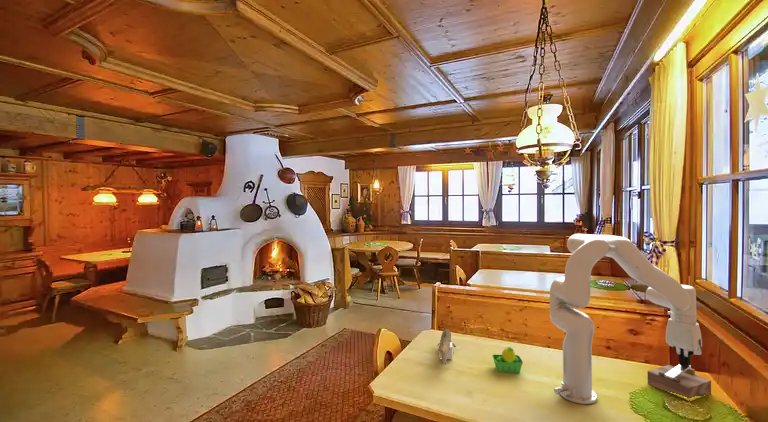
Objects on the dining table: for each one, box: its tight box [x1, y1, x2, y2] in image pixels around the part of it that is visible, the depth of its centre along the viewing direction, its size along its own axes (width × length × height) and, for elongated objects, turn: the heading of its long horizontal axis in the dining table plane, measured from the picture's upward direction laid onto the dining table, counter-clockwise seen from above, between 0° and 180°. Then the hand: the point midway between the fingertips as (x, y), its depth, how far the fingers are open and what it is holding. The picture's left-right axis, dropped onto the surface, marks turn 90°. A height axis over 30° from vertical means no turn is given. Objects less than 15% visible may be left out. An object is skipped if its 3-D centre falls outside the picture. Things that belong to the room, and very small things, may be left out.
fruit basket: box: [492, 346, 524, 374], centre depth 153 cm, size 11×9×11 cm
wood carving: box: [437, 328, 457, 364], centre depth 166 cm, size 9×35×11 cm, turn 168°
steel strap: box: [664, 363, 692, 380], centre depth 135 cm, size 11×3×1 cm, turn 111°
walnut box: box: [647, 364, 712, 398], centre depth 135 cm, size 13×14×7 cm
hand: (684, 365), depth 137 cm, fingers closed
